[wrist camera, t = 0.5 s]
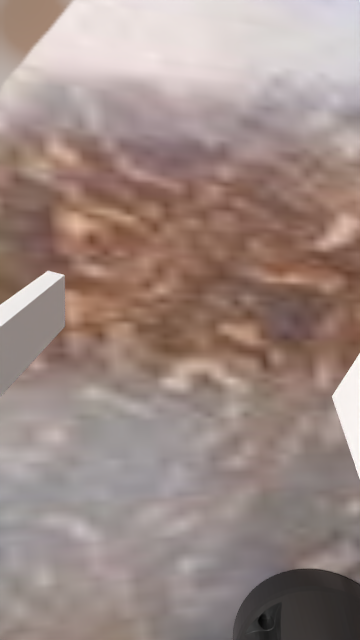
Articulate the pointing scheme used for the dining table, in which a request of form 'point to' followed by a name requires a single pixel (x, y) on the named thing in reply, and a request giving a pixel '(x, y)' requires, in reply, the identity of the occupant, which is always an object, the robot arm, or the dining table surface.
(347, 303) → the dining table surface
